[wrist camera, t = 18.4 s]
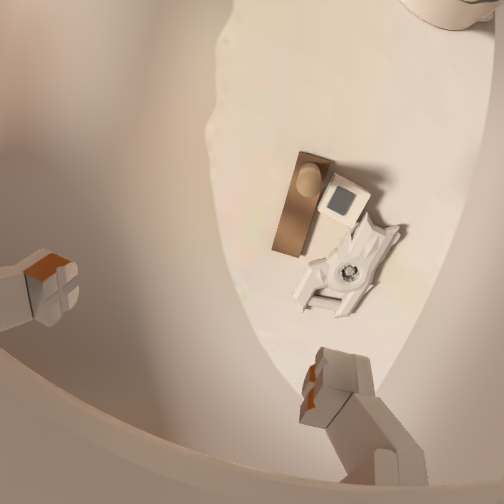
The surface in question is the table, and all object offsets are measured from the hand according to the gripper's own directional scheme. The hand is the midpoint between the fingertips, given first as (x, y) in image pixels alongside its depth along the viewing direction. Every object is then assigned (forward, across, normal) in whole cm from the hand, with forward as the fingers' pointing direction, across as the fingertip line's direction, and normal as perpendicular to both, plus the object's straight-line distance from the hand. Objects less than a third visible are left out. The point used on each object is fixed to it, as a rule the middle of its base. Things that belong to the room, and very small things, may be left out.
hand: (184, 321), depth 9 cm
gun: (+35, -12, +12) cm, 39 cm away
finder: (+34, -9, +2) cm, 36 cm away
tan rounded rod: (+33, -3, 0) cm, 33 cm away
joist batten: (+34, -4, +5) cm, 35 cm away
